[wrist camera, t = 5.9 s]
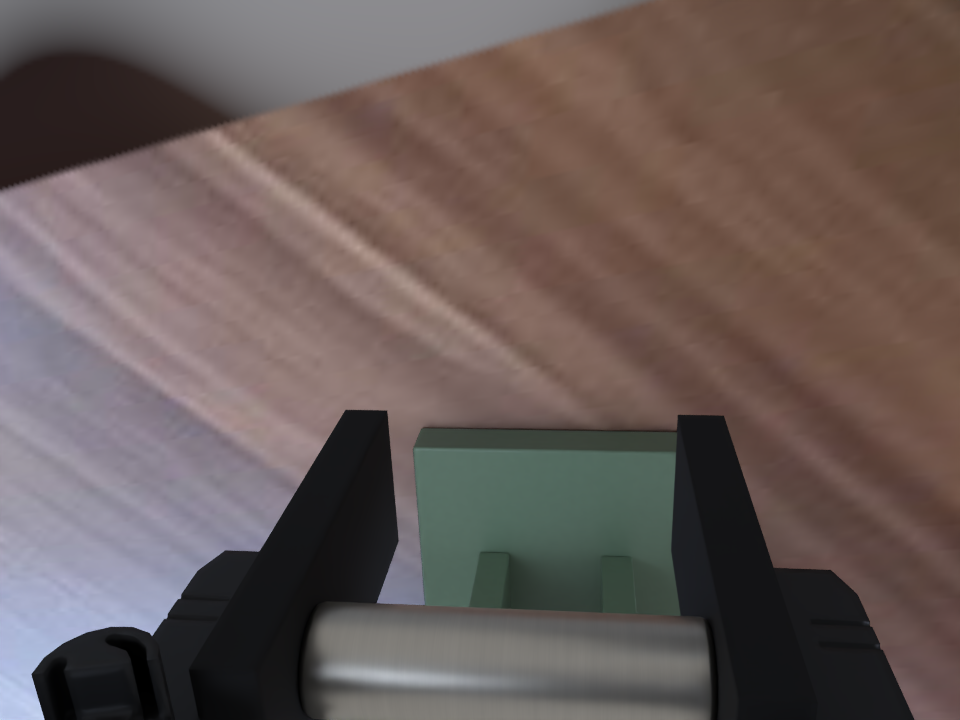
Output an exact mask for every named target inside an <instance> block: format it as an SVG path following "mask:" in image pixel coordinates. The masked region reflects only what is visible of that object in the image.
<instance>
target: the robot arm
mask: <svg viewBox="0 0 960 720" xmlns="http://www.w3.org/2000/svg"><path fill="white" fill-rule="evenodd" d="M398 541H399V540H398V529H397V517H396V506H395V495H394V483H393V472H392V460H391V449H390V437H389V426H388V414H387V411H379V410H345V412H344V413H343V415H342V417H341V418H340V420H339V422H338V423H337V425H336V427H335V428H334V430H333V432H332V433H331V435H330V437H329V438H328V440H327V442H326V443H325V445H324V446H323V448H322V450H321V451H320V453H319V455H318V456H317V458H316V460H315V461H314V463H313V465H312V466H311V468H310V470H309V471H308V473H307V475H306V476H305V478H304V479H303V481H302V483H301V484H300V486H299V488H298V489H297V491H296V493H295V494H294V496H293V498H292V499H291V501H290V503H289V504H288V506H287V508H286V509H285V511H284V512H283V514H282V516H281V517H280V519H279V521H278V522H277V524H276V526H275V527H274V529H273V531H272V532H271V534H270V536H269V537H268V539H267V541H266V542H265V544H264V545H263V547H262V549H261V550H260V552H252V551H224V552H223V553H221V554H220V555H219V556H217V557H216V558H215V559H213V560H212V561H210V562H209V563H208V564H206V565H205V566H204V567H202V568H201V569H200V570H198V571H197V573H196V574H195V576H194V577H193V578H192V580H191V581H190V583H189V584H188V586H187V587H186V589H185V590H184V591H183V593H182V594H181V599H178V600H177V601H176V603H175V604H174V606H173V607H172V609H171V610H170V612H169V613H168V618H167V619H164V620H163V622H162V623H161V624H160V626H159V627H158V629H157V630H156V632H155V633H154V635H153V636H151V634H150V633H148V632H145V631H142V630H139V629H137V628H134V627H109V628H104V629H100V630H96V631H91V632H87V633H85V634H83V635H80V636H78V637H76V638H74V639H72V640H70V641H67V642H65V643H63V644H62V645H61V646H59V647H58V648H57V649H55V650H54V651H53V652H51V653H50V654H49V655H47V656H46V657H44V659H43V660H42V661H41V663H40V664H39V665H38V667H37V668H36V669H35V670H34V672H33V673H32V674H31V675H32V678H33V681H34V685H35V688H36V692H37V695H38V698H39V702H40V705H41V709H42V712H43V715H44V719H45V720H321V719H313V718H311V717H309V716H307V715H306V714H305V712H304V710H303V707H302V704H301V699H300V691H299V661H300V653H301V646H302V641H303V637H304V633H305V629H306V626H307V623H308V620H309V618H310V615H311V613H312V611H313V610H314V608H315V607H316V606H317V605H318V604H320V603H323V602H326V601H330V602H354V603H377V600H378V597H379V594H380V592H381V589H382V586H383V583H384V580H385V578H386V575H387V572H388V569H389V566H390V564H391V561H392V558H393V555H394V552H395V550H396V547H397V544H398ZM671 554H672V561H673V567H674V574H675V581H676V587H677V594H678V601H679V608H680V614H681V616H695V617H702V618H704V619H706V620H707V621H708V623H709V626H710V628H711V631H712V635H713V640H714V646H715V655H716V666H717V686H718V705H717V720H914V718H913V715H912V713H911V711H910V709H909V707H908V704H907V702H906V700H905V698H904V696H903V693H902V691H901V689H900V687H899V685H898V682H897V680H896V678H895V676H894V674H893V672H892V669H891V667H890V665H889V663H888V661H887V658H886V656H885V654H884V652H883V650H880V643H879V641H878V639H877V636H876V634H875V632H874V630H873V628H872V627H870V621H869V619H868V617H867V615H866V612H865V610H864V608H863V606H862V604H861V601H860V599H859V597H858V595H857V594H856V593H855V592H854V591H853V590H852V589H851V588H850V587H849V586H848V585H847V584H846V583H844V582H843V581H842V580H841V579H840V578H839V577H838V576H837V575H836V574H835V573H833V572H832V571H831V570H816V569H789V568H773V564H772V561H771V558H770V555H769V552H768V549H767V546H766V543H765V540H764V537H763V534H762V531H761V528H760V525H759V522H758V519H757V516H756V513H755V510H754V507H753V504H752V501H751V497H750V494H749V491H748V488H747V485H746V482H745V479H744V476H743V473H742V470H741V467H740V464H739V461H738V458H737V455H736V452H735V449H734V446H733V443H732V440H731V437H730V433H729V430H728V427H727V424H726V421H725V418H724V416H708V415H678V424H677V443H676V463H675V482H674V501H673V521H672V540H671Z"/></svg>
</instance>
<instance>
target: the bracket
mask: <svg viewBox="0 0 960 720" xmlns="http://www.w3.org/2000/svg"><path fill="white" fill-rule="evenodd" d="M676 443H677V432H631V431H567V430H503V429H439V428H423V429H421V430H420V433H419V435H418V438H417V440H416V443H415V445H414V448H413V456H414V469H415V482H416V495H417V508H418V521H419V534H420V548H421V561H422V574H423V587H424V600H425V605H427V606H452V607H476V608H500V609H525V610H549V611H573V612H598V613H622V614H647V615H671V616H681V614H680V608H679V601H678V594H677V587H676V581H675V574H674V567H673V561H672V554H671V540H672V521H673V501H674V482H675V463H676Z"/></svg>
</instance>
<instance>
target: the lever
mask: <svg viewBox="0 0 960 720" xmlns="http://www.w3.org/2000/svg"><path fill="white" fill-rule="evenodd" d="M299 691H300V699H301V704H302V707H303V710H304V712H305V714H306V715H307V716H309V717H311V718H313V719H321V720H717V705H718V686H717V666H716V655H715V646H714V640H713V635H712V631H711V628H710V626H709V623H708V621H707V620H706V619H704V618H702V617H695V616H671V615H647V614H622V613H598V612H573V611H549V610H525V609H500V608H476V607H452V606H427V605H403V604H379V603H354V602H330V601H326V602H323V603H320V604H318V605H317V606H316V607H315V608H314V610H313V611H312V613H311V615H310V618H309V620H308V623H307V626H306V629H305V633H304V637H303V641H302V646H301V653H300V661H299Z"/></svg>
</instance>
